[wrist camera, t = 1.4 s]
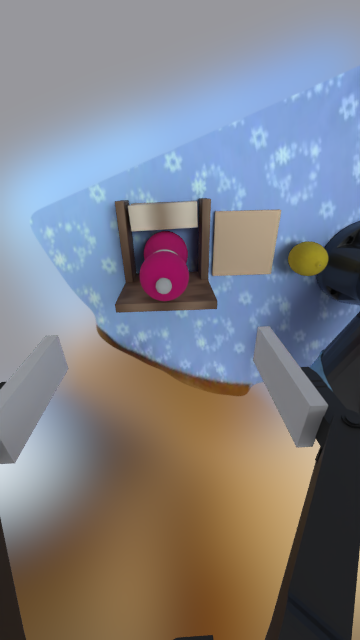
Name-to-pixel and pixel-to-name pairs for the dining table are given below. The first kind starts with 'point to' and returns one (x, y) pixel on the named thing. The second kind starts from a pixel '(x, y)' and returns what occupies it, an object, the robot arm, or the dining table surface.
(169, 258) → the pepper mill
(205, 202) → the rack
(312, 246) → the lemon
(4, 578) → the robot arm
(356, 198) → the dining table surface
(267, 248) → the cork mat
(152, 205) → the offcut top
